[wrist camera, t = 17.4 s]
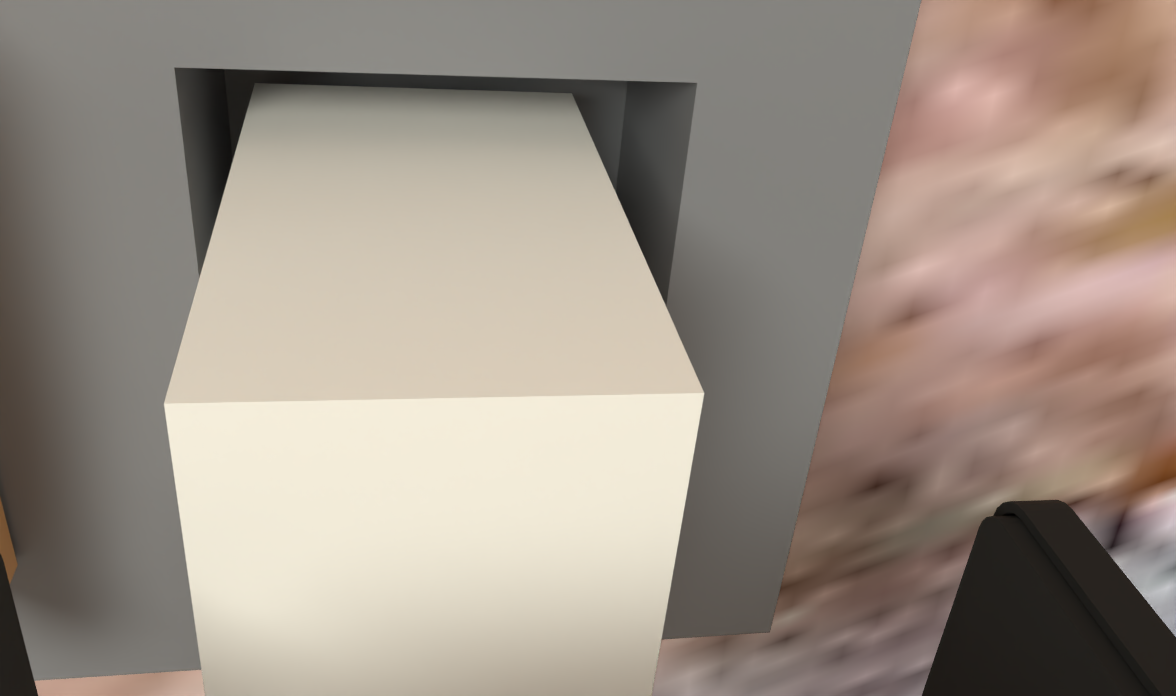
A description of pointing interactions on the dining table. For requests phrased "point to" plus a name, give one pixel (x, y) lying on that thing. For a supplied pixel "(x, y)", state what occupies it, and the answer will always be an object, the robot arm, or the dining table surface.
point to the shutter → (6, 546)
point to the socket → (430, 61)
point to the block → (427, 406)
